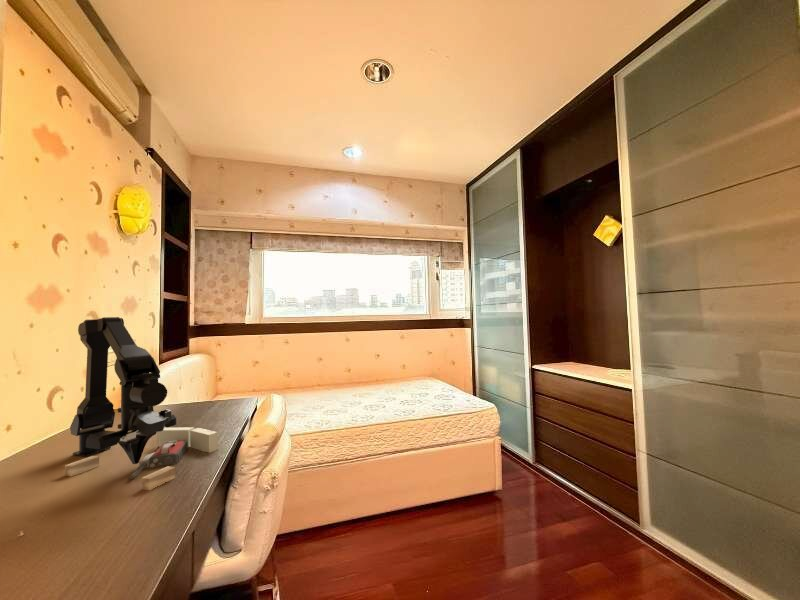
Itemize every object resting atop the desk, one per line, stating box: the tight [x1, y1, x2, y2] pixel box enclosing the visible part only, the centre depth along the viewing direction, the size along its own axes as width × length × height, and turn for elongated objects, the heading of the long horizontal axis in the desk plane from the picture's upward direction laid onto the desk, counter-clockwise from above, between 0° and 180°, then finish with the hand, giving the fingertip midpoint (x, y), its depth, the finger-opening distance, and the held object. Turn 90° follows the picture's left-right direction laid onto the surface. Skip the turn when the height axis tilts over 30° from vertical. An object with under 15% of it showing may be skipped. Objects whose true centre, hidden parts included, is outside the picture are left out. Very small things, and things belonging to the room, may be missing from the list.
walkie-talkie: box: [129, 440, 189, 480], centre depth 91 cm, size 9×4×20 cm
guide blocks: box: [64, 455, 176, 491], centre depth 83 cm, size 30×6×2 cm, turn 71°
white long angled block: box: [157, 426, 219, 453], centre depth 102 cm, size 21×4×5 cm, turn 71°
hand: (135, 463), depth 87 cm, fingers closed
